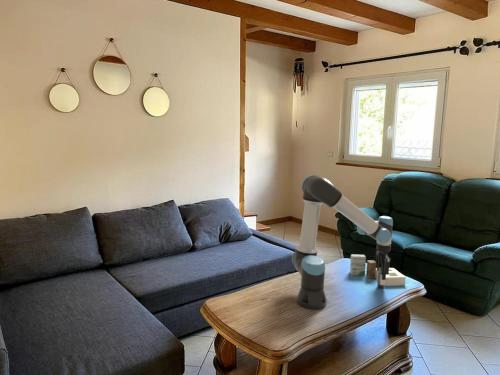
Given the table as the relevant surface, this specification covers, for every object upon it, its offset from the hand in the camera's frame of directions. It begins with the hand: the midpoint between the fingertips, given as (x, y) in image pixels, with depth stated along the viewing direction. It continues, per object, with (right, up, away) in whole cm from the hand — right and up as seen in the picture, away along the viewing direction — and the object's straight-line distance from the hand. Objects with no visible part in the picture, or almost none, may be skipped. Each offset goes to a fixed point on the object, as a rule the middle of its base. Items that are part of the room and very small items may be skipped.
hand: (380, 283), depth 208 cm
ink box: (-7, 0, +20) cm, 22 cm away
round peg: (0, -3, 0) cm, 3 cm away
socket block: (+9, -1, +10) cm, 14 cm away
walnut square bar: (-1, 0, +15) cm, 15 cm away
